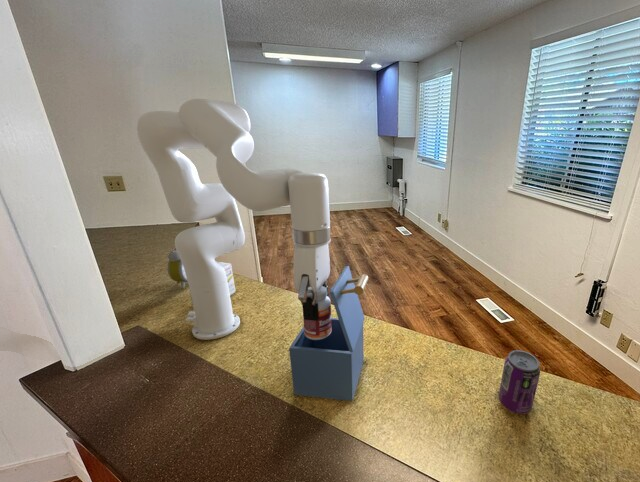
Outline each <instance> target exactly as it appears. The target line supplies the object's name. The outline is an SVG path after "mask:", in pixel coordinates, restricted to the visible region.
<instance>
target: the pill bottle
mask: <svg viewBox="0 0 640 482" xmlns="http://www.w3.org/2000/svg"><path fill="white" fill-rule="evenodd" d="M326 288H327V287H326ZM326 288H325V287H323V286H322V287H321V288H320V289H319V290H318V291H317V297H316V303H318V313H319V319H318V320H317V321H313V320H304V318H303V317H302V321H303V326H304V333H305V336H306V337H307V338H309V339H311V340H321V339H324V338H326V337H328V336H329V335H330V333H331V330H332V324H331V318H332V305H331V304H332V303H331V297H329V295H328V296H327V289H326ZM308 289H310V290H313V288H311V287H308ZM312 294H313V293H307V295H308V297H311V298H312Z"/></svg>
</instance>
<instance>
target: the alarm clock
mask: <svg viewBox="0 0 640 482" xmlns="http://www.w3.org/2000/svg"><path fill="white" fill-rule="evenodd" d="M167 258H168V262H167V269H166V270H167V273H168V276H169V278H170V279H171V280H172V281H174V282H176V283H177V284H180V285H181V286H180V287H181V290H184V289H185V286H186V284H187V283H188V281H187V277H186V273H185V270H184V267H183V264H182V261H181V259H180V257H179V255H178V253H177V250H176V249H172V250H171V251H170V252H169V253H168V257H167Z"/></svg>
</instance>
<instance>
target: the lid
mask: <svg viewBox="0 0 640 482" xmlns="http://www.w3.org/2000/svg"><path fill="white" fill-rule="evenodd" d="M368 282H369V276H368V274H366V273H362V274H361V275H359V277H356V278H353V275H352V271H351V269H350V266H349V265H346V266H344V269H343V270H342V272H341V273H340V275H339V276H338V278H337V279H336V281H335V283H334V284H333V286H332V287H331V289H330V291H329V296H330V299H331V300H332V303H333V306H334V309H335V312H336V316H337V318H338V319H339V322H340V325H341V328H342V331H343V334H344V337H345V340H346V343H347V346H348V349H349V352H353V351H354V348H355V345H356V342H357V339H358V336H359V334H360V331H361V328H362V325H363V326H364V323H365V319H366V318H365V314H364V312H363V308H362V305H361V302H360V298H359V296H360V295H362V294H363V293H364V291H365V289H366V287H367V284H368ZM355 283H356V284H355Z"/></svg>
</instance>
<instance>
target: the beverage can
mask: <svg viewBox="0 0 640 482" xmlns="http://www.w3.org/2000/svg"><path fill="white" fill-rule="evenodd" d="M540 376H541V368H540V361H539V359H538V358H537V357H536V356H535V355H533V354H532V353H530V352H528V351H525V350H521V349H515V350H511V351H510V352H509V353H508V355H507V357H506V358H505V360H504V364H503V369H502V374H501V381H500V384H499V391H498V401H499V402H500V404H501V405H502V406H503V408H505V409H506V410H508V411H510V412H512V413H513V414H518V415H526V414H528V413H530V412H531V411H532V408H533V406H534V402H535V398H536V394H537V393H536V392H537V389H538V384H539V380H540Z"/></svg>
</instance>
